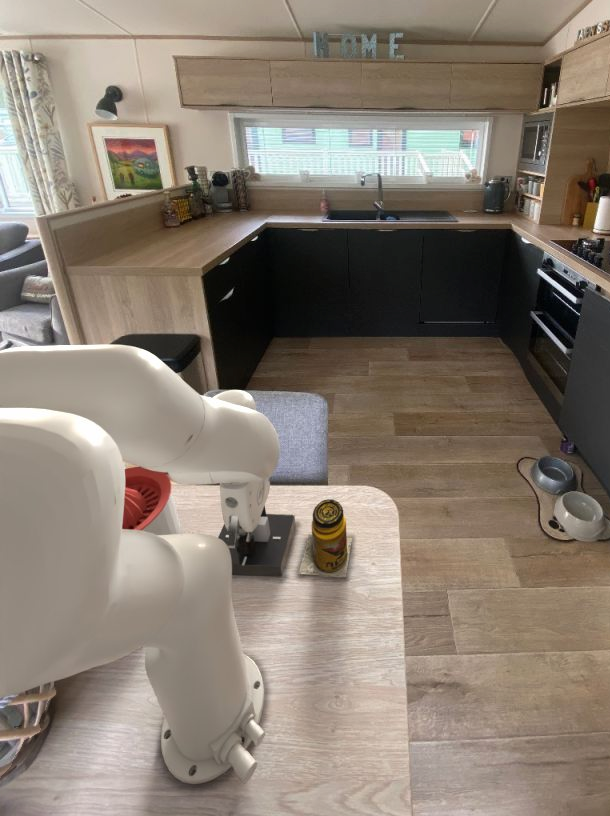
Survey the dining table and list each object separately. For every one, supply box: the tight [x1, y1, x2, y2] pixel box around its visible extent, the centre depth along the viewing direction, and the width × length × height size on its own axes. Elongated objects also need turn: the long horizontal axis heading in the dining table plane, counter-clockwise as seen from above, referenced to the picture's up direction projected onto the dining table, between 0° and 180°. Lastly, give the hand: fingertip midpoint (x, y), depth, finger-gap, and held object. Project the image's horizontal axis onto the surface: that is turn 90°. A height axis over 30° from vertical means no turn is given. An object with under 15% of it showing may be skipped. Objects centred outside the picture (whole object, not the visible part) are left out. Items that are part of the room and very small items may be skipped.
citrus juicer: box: [122, 466, 182, 535], centre depth 64 cm, size 16×17×20 cm
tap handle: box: [239, 517, 270, 542], centre depth 71 cm, size 6×2×5 cm, turn 88°
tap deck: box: [217, 513, 297, 578], centre depth 72 cm, size 13×10×3 cm
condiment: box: [298, 498, 353, 578], centre depth 69 cm, size 7×8×12 cm
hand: (252, 534), depth 72 cm, fingers open, 5 cm apart
